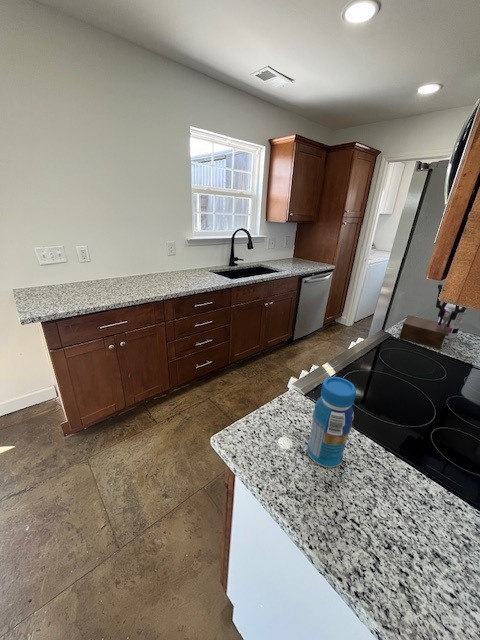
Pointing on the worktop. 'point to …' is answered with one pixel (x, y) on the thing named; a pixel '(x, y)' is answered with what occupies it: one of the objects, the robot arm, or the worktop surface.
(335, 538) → the worktop surface
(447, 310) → the supplement can
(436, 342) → the storage bin
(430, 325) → the bin lid
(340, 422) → the beverage bottle
